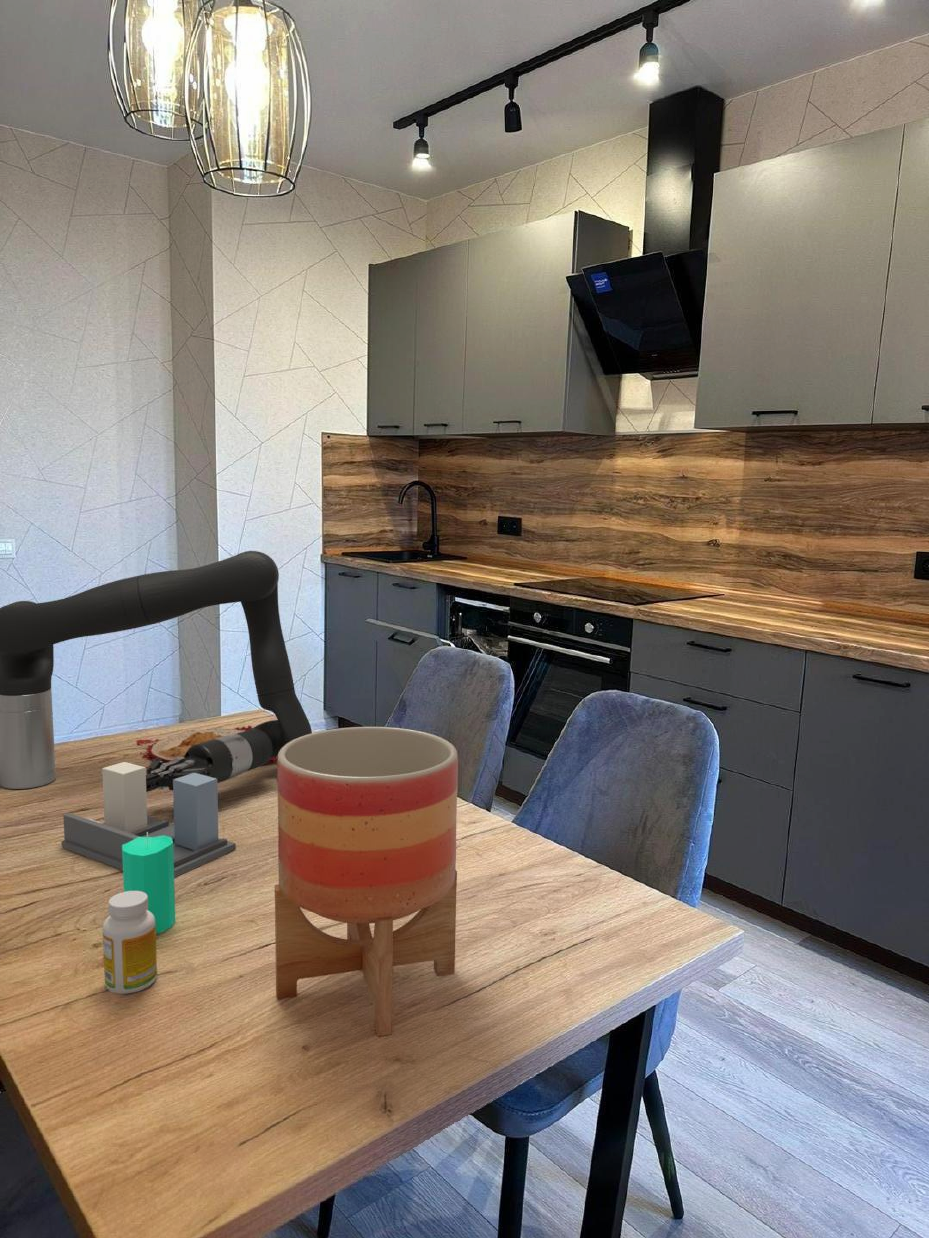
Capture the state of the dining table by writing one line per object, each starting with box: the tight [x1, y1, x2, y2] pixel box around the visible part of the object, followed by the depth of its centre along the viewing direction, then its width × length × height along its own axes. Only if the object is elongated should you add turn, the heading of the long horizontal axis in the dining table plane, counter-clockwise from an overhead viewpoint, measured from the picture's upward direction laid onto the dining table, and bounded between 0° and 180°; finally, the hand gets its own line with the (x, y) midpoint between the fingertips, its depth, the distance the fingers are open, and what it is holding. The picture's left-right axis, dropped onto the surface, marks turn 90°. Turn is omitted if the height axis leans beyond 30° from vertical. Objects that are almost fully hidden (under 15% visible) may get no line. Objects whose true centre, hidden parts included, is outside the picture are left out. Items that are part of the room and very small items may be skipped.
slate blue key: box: [172, 773, 219, 850], centre depth 128 cm, size 5×4×10 cm
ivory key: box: [101, 761, 148, 833], centre depth 132 cm, size 5×4×10 cm
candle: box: [122, 832, 176, 935], centre depth 106 cm, size 6×6×12 cm
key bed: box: [61, 812, 236, 878], centre depth 129 cm, size 22×14×5 cm, turn 59°
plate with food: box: [136, 725, 278, 769], centre depth 177 cm, size 25×26×4 cm
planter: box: [274, 726, 459, 1038], centre depth 93 cm, size 20×20×27 cm
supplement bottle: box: [102, 891, 158, 995], centre depth 94 cm, size 5×5×10 cm
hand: (135, 787), depth 134 cm, fingers closed
